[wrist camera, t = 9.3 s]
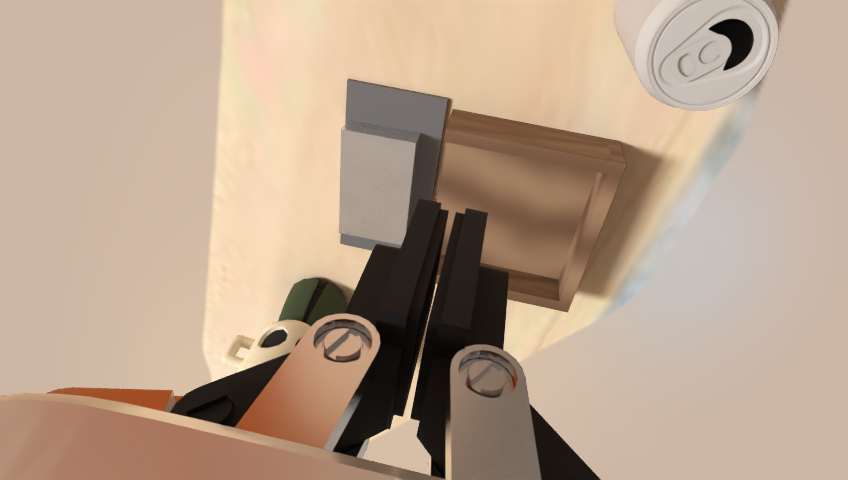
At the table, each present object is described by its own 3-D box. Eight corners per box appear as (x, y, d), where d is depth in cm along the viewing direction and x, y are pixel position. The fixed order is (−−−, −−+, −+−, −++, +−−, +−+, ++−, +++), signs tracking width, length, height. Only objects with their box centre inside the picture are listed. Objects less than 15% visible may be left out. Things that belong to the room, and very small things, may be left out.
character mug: (377, 292, 53) (337, 394, 43) (362, 337, 58) (322, 440, 47) (275, 256, 53) (210, 350, 43) (267, 304, 57) (206, 400, 47)
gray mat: (348, 78, 41) (347, 80, 41) (448, 98, 41) (447, 99, 40) (341, 241, 51) (340, 243, 50) (422, 259, 50) (421, 261, 50)
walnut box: (453, 109, 41) (445, 128, 38) (619, 141, 40) (626, 164, 37) (428, 253, 50) (420, 280, 46) (565, 283, 49) (567, 312, 45)
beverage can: (730, 21, 34) (805, 78, 25) (632, 70, 37) (665, 139, 27) (698, -75, 32) (768, -53, 22) (596, -14, 35) (618, 29, 25)
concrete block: (348, 119, 43) (341, 129, 41) (420, 132, 42) (415, 143, 41) (345, 220, 49) (339, 232, 47) (408, 233, 48) (404, 245, 47)
